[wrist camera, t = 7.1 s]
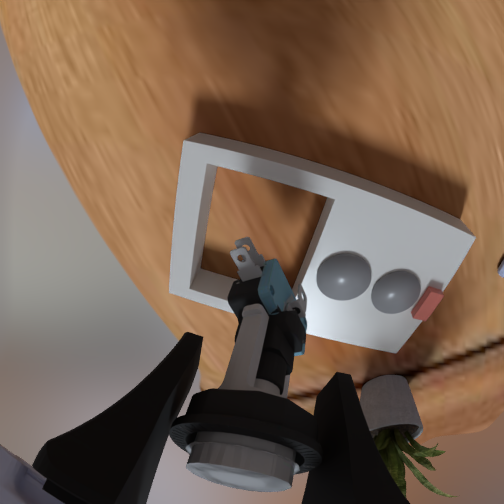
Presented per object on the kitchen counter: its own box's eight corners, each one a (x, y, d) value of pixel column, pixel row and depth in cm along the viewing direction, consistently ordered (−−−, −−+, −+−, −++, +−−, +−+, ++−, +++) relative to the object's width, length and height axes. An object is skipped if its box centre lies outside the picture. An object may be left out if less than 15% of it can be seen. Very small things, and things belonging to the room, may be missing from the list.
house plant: (283, 395, 30) (257, 532, 16) (368, 326, 22) (377, 529, 9) (373, 423, 31) (370, 535, 18) (457, 369, 24) (481, 506, 10)
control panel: (460, 219, 16) (480, 242, 13) (391, 331, 22) (397, 359, 20) (199, 132, 17) (179, 142, 14) (181, 272, 23) (165, 297, 20)
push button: (200, 248, 15) (99, 419, 7) (297, 214, 13) (260, 435, 5) (255, 336, 18) (213, 490, 9) (339, 317, 16) (334, 495, 7)
